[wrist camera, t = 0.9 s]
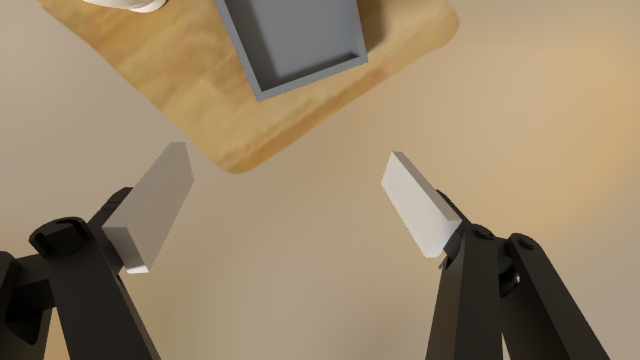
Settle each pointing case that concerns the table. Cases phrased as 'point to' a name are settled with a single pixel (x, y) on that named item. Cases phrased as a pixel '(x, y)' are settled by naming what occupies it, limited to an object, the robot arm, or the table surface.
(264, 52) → the footed square tray
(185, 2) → the table surface
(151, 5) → the jar
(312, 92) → the table surface
